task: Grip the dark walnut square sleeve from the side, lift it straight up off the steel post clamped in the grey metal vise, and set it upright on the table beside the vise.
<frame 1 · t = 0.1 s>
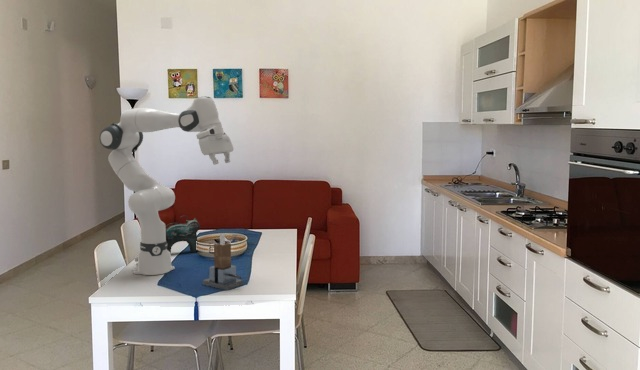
hand: (222, 163, 243), 52 cm above the table, tool tilted 20°, fingers open, 8 cm apart
walnut sleeve: (222, 266, 243), point 8 cm above the table, touching vise
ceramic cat: (181, 253, 298), on the table
vise: (222, 284, 244), on the table
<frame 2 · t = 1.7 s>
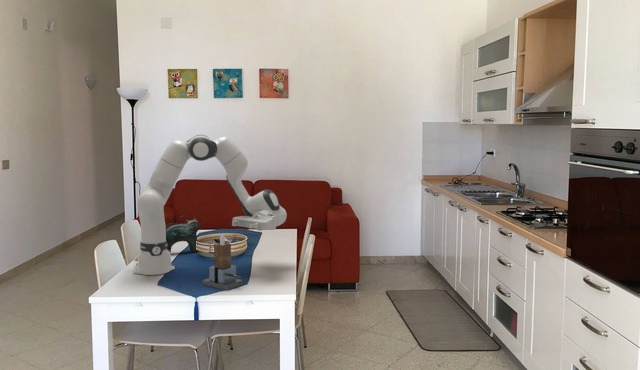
hand: (241, 225, 251), 24 cm above the table, tool horizontal, fingers open, 8 cm apart
nothing on the table moved.
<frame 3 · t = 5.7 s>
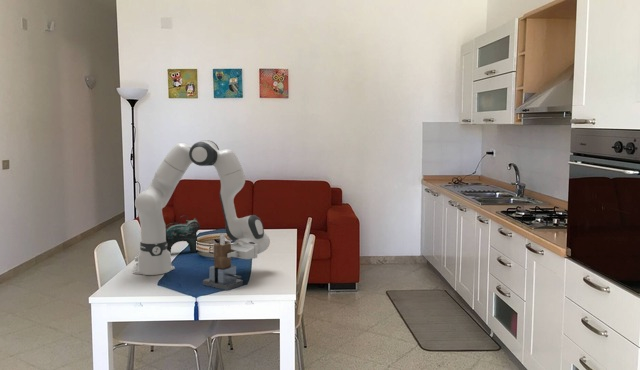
hand: (221, 254, 241), 14 cm above the table, tool horizontal, fingers closed on walnut sleeve, 5 cm apart
walnut sleeve: (222, 266, 243), point 8 cm above the table, touching gripper, vise
everything else where it was.
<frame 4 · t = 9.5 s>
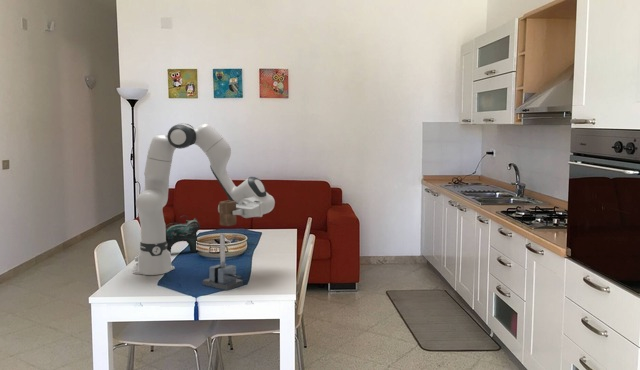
hand: (226, 212, 241), 31 cm above the table, tool horizontal, fingers closed on walnut sleeve, 5 cm apart
walnut sleeve: (228, 224, 243), point 26 cm above the table, touching gripper
everything else where it was.
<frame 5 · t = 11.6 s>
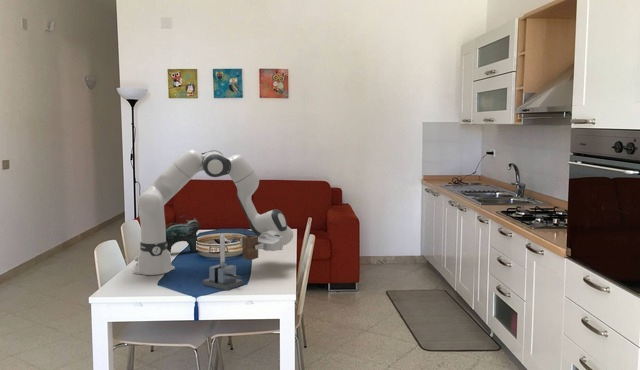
hand: (249, 246, 254), 14 cm above the table, tool horizontal, fingers closed on walnut sleeve, 5 cm apart
walnut sleeve: (250, 258, 256), point 8 cm above the table, touching gripper
everything else where it was.
when the fingers open (7 cm above the table, at t = 13.4 s): walnut sleeve drops 1 cm, on the table.
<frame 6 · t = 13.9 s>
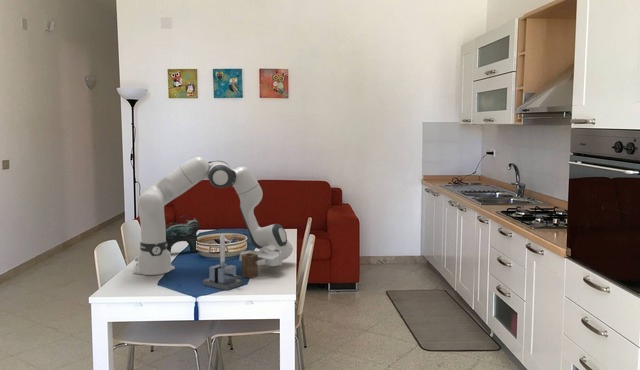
hand: (248, 261, 255), 7 cm above the table, tool horizontal, fingers open, 8 cm apart
walnut sleeve: (249, 276, 257), on the table
everything else where it was.
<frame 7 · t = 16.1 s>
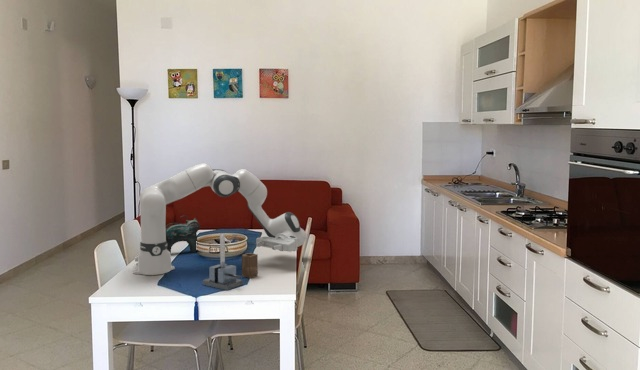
hand: (265, 246, 265), 12 cm above the table, tool horizontal, fingers open, 8 cm apart
nothing on the table moved.
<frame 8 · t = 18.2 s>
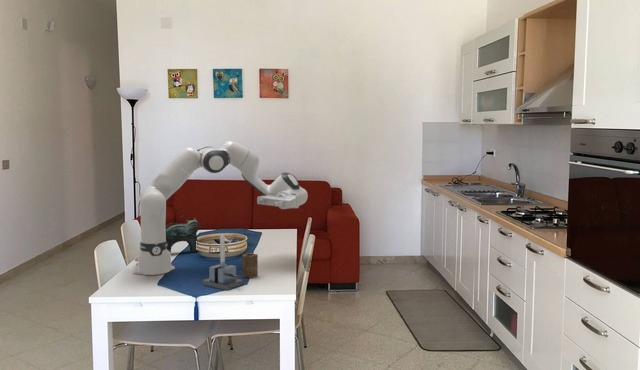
hand: (266, 203, 263), 32 cm above the table, tool horizontal, fingers open, 8 cm apart
nothing on the table moved.
at the end: walnut sleeve touching table; walnut sleeve inside the target area (0.1 cm from its centre), on the table; walnut sleeve tilted 0° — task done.
